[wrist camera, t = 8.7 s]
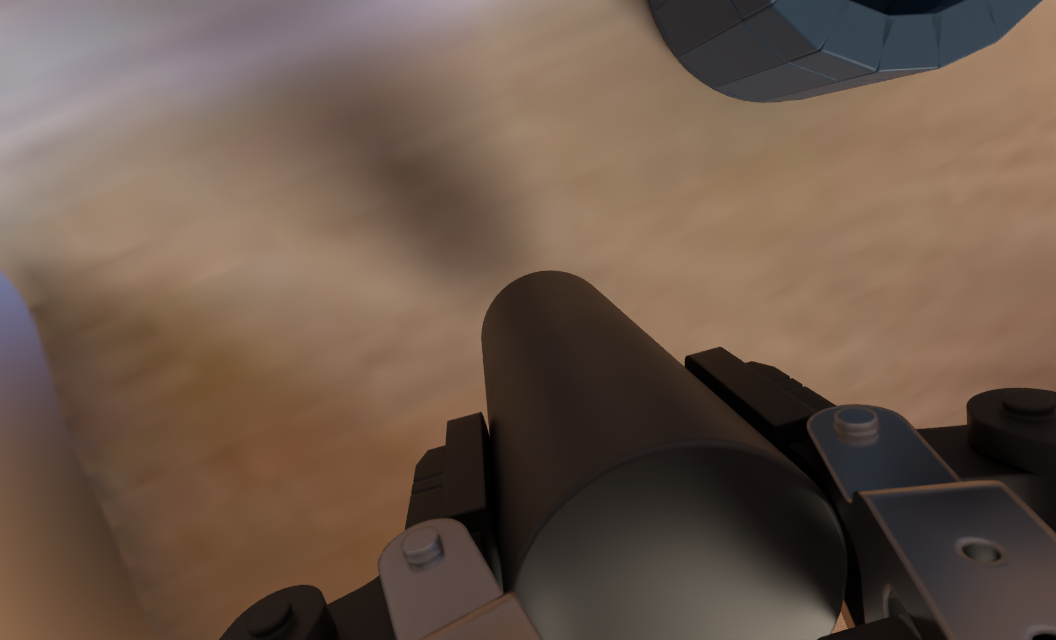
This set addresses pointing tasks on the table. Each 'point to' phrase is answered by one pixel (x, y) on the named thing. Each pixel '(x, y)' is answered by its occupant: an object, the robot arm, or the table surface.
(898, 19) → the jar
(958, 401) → the table surface
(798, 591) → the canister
